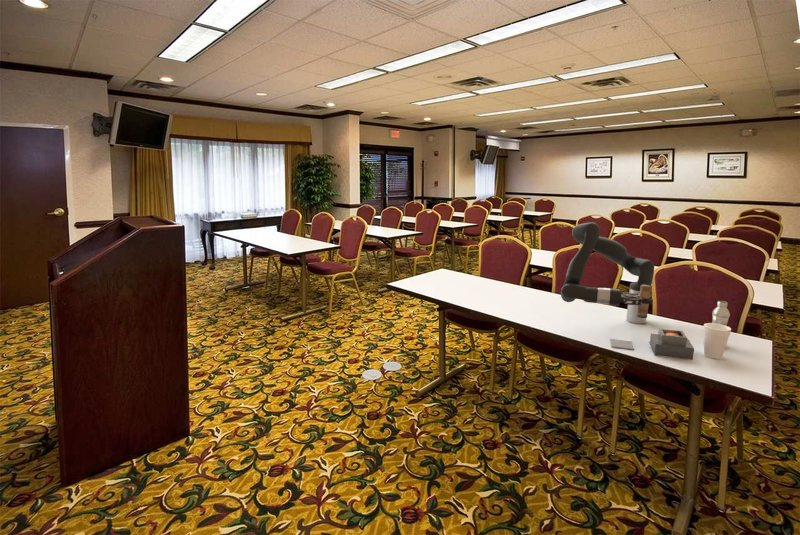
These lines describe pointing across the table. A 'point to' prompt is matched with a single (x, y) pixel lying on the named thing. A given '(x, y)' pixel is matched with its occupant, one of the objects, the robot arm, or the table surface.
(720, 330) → the foam cup
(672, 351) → the grey button housing
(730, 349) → the table surface
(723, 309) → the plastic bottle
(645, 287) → the stick
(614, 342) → the mat
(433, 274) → the table surface
